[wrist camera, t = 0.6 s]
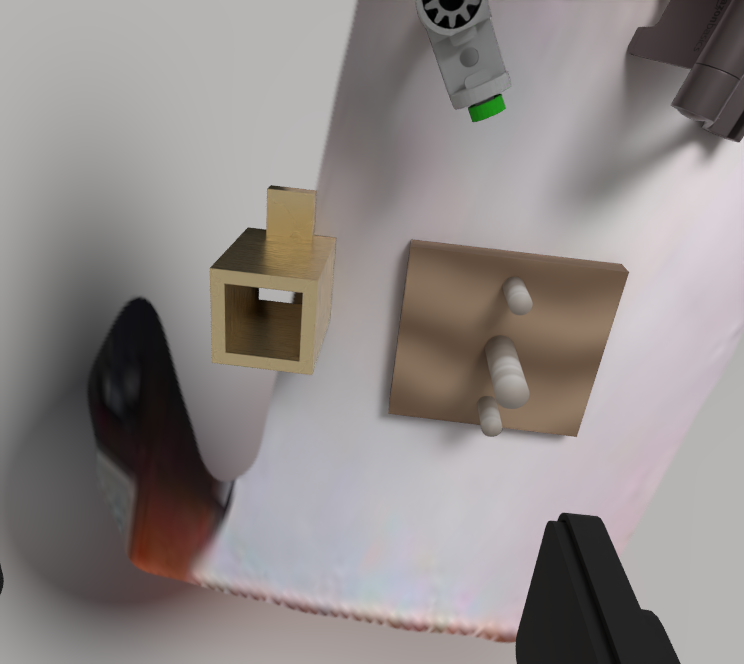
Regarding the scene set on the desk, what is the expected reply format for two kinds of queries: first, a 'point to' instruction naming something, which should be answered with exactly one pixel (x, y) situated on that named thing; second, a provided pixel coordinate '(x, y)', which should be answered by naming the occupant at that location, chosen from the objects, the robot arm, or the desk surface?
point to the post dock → (484, 311)
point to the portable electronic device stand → (702, 60)
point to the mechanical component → (466, 54)
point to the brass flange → (274, 271)
